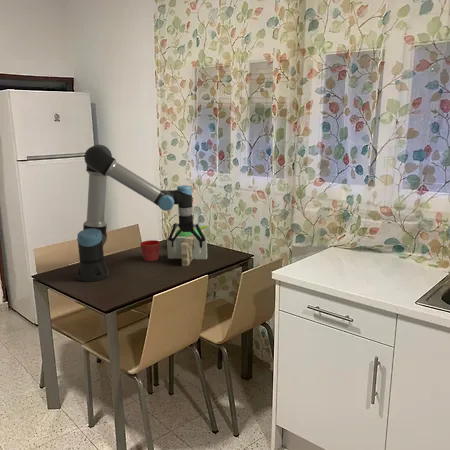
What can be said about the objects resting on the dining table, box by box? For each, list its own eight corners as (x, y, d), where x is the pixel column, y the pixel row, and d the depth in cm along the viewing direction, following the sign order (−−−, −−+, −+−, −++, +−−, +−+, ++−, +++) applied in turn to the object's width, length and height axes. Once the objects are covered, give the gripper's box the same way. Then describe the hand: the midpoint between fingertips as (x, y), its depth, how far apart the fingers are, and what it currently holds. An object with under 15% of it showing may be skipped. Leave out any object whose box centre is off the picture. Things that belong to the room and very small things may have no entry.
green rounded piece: (169, 249, 274) (168, 225, 270) (187, 243, 287) (186, 220, 284) (192, 254, 263) (191, 229, 260) (210, 247, 277) (209, 223, 273)
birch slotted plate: (190, 255, 262) (189, 234, 259) (195, 255, 261) (195, 234, 259) (182, 265, 243) (181, 244, 240) (187, 266, 242) (186, 244, 239)
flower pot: (137, 259, 256) (136, 242, 254) (154, 255, 263) (153, 239, 261) (148, 263, 248) (146, 246, 246) (164, 259, 255) (163, 242, 253)
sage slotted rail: (167, 258, 257) (166, 237, 254) (169, 256, 260) (168, 236, 257) (206, 259, 253) (205, 238, 250) (207, 257, 256) (206, 237, 253)
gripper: (160, 216, 241) (163, 254, 246) (207, 216, 237) (208, 255, 242) (165, 213, 248) (167, 250, 253) (210, 213, 244) (211, 251, 249)
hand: (187, 253), depth 247 cm, fingers open, 13 cm apart
